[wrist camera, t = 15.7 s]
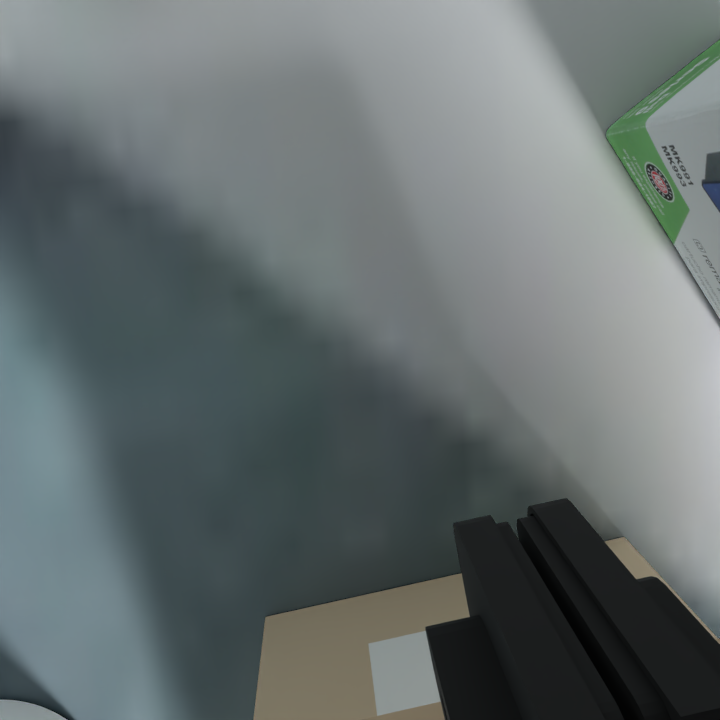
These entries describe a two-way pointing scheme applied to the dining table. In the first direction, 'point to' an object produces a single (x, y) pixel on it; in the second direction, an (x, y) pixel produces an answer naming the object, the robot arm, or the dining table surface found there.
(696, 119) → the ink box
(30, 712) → the cup
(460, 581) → the carton
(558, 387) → the dining table surface
